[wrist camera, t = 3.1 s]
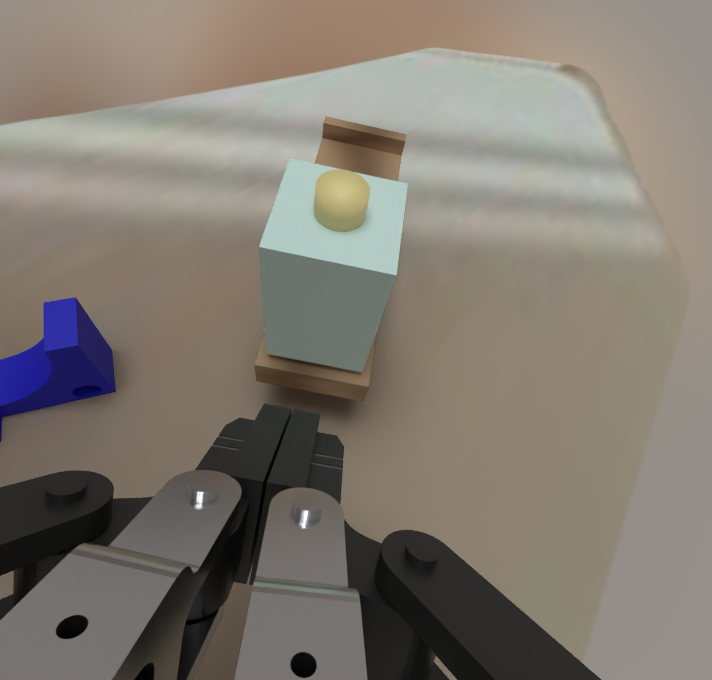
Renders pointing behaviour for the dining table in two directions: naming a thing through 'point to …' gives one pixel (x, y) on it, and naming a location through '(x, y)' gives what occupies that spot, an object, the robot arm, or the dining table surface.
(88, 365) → the cable clip
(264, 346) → the beam
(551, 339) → the dining table surface
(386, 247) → the block
